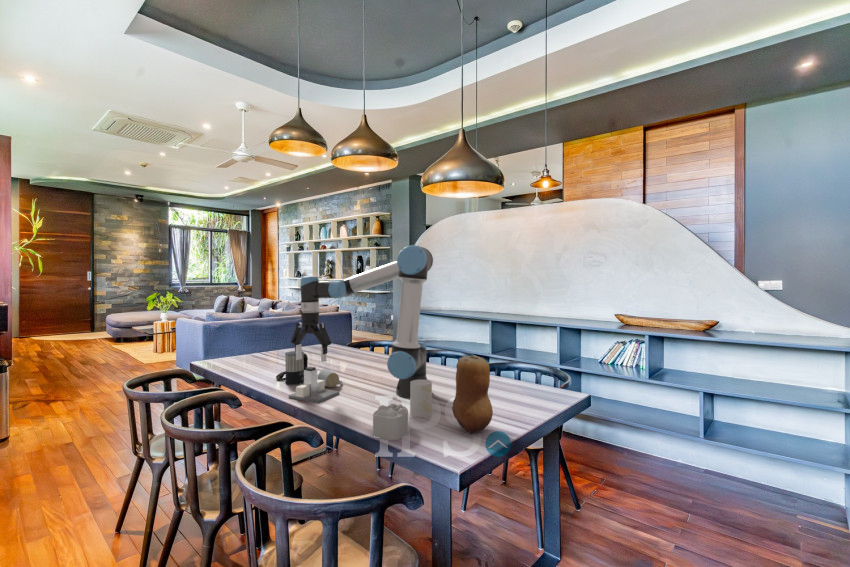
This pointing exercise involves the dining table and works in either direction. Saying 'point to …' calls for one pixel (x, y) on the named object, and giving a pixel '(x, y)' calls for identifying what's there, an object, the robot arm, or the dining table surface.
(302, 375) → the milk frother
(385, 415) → the lumpy-topped squat cylinder
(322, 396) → the board
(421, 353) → the robot arm
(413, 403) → the cup
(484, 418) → the butternut squash
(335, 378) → the ceramic mug
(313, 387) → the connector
